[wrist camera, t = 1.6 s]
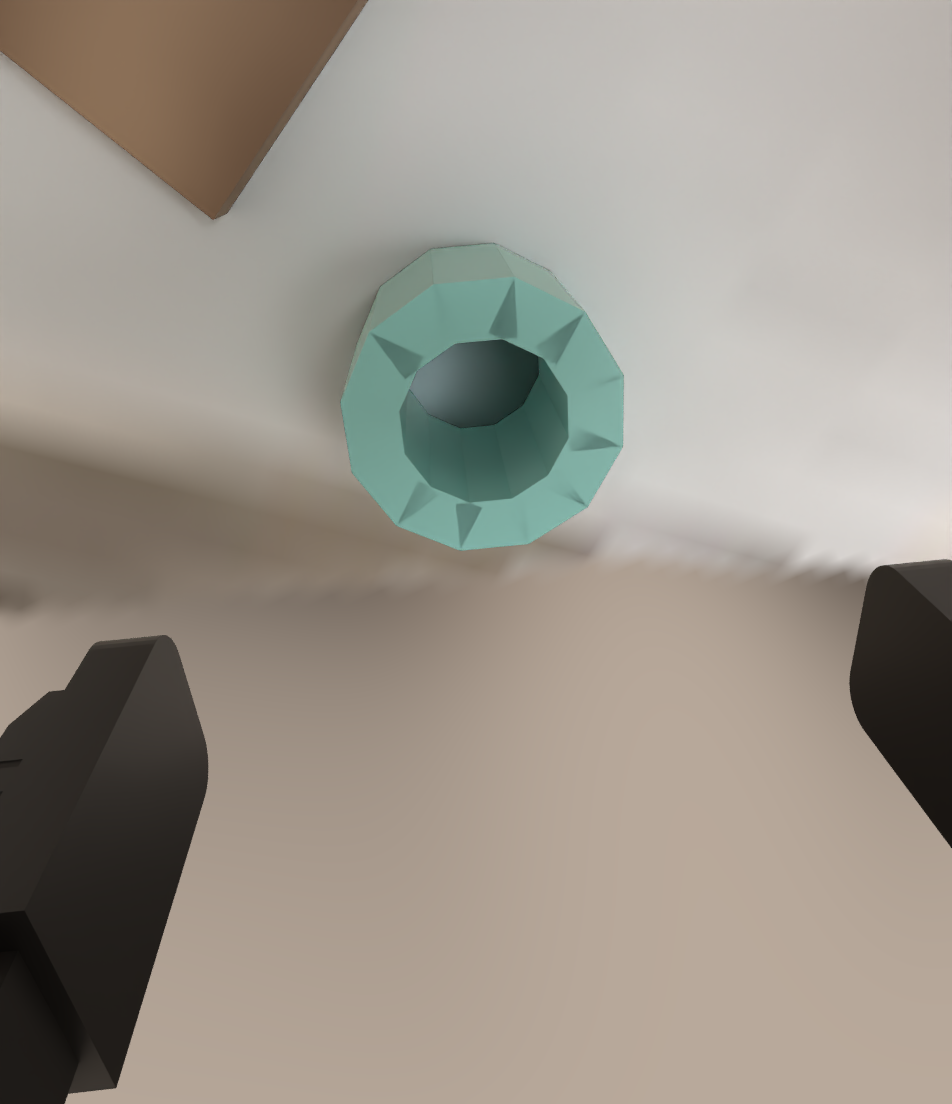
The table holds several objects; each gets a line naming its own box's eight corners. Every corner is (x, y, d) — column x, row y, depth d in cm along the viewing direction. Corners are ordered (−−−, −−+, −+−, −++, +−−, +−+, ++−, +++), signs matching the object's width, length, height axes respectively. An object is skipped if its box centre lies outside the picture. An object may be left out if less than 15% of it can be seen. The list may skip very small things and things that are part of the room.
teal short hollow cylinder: (623, 307, 21) (675, 356, 17) (520, 497, 24) (543, 582, 19) (414, 202, 20) (412, 226, 15) (327, 416, 22) (304, 490, 18)
